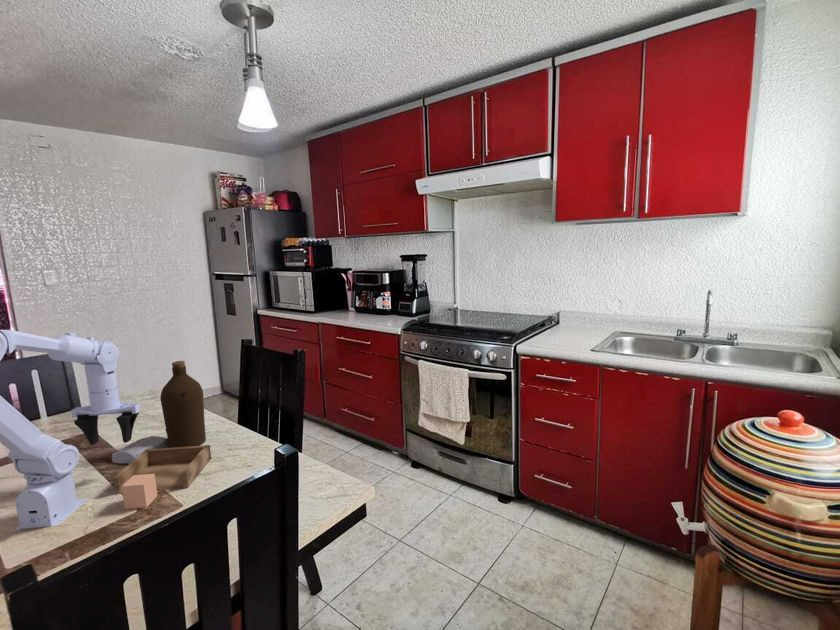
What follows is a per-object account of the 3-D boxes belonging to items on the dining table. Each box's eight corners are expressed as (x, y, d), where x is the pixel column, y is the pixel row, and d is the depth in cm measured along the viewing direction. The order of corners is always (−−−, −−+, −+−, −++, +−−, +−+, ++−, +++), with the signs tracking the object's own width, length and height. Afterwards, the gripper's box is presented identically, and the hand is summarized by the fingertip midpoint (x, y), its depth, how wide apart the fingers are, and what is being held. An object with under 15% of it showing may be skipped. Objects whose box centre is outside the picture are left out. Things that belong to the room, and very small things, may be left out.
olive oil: (216, 440, 123) (207, 359, 119) (183, 456, 113) (173, 368, 109) (192, 434, 127) (182, 356, 123) (158, 450, 117) (147, 365, 114)
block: (147, 510, 89) (143, 484, 88) (125, 512, 89) (121, 486, 88) (157, 498, 94) (154, 473, 93) (136, 499, 93) (133, 475, 92)
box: (188, 490, 96) (186, 472, 96) (115, 496, 95) (112, 478, 94) (211, 460, 110) (209, 445, 110) (148, 465, 109) (146, 449, 108)
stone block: (109, 471, 110) (140, 467, 108) (104, 454, 109) (135, 449, 107) (146, 452, 121) (174, 447, 119) (141, 436, 121) (170, 432, 119)
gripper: (144, 382, 104) (150, 432, 106) (82, 386, 103) (90, 437, 105) (127, 391, 97) (135, 445, 99) (61, 395, 96) (70, 450, 98)
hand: (111, 442), depth 102 cm, fingers open, 7 cm apart
